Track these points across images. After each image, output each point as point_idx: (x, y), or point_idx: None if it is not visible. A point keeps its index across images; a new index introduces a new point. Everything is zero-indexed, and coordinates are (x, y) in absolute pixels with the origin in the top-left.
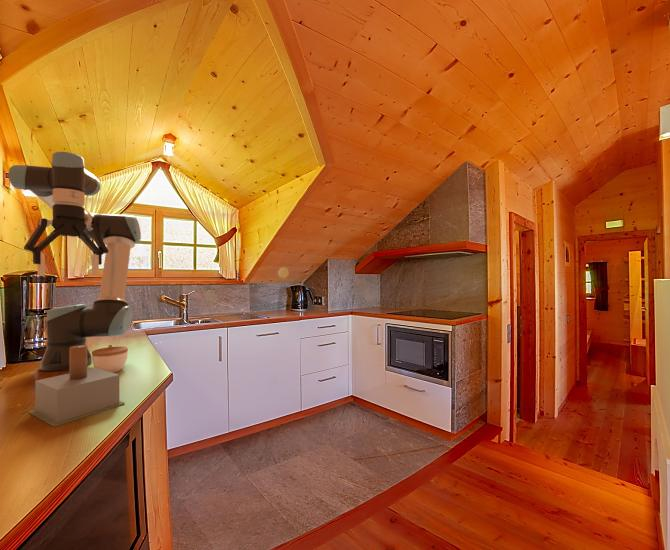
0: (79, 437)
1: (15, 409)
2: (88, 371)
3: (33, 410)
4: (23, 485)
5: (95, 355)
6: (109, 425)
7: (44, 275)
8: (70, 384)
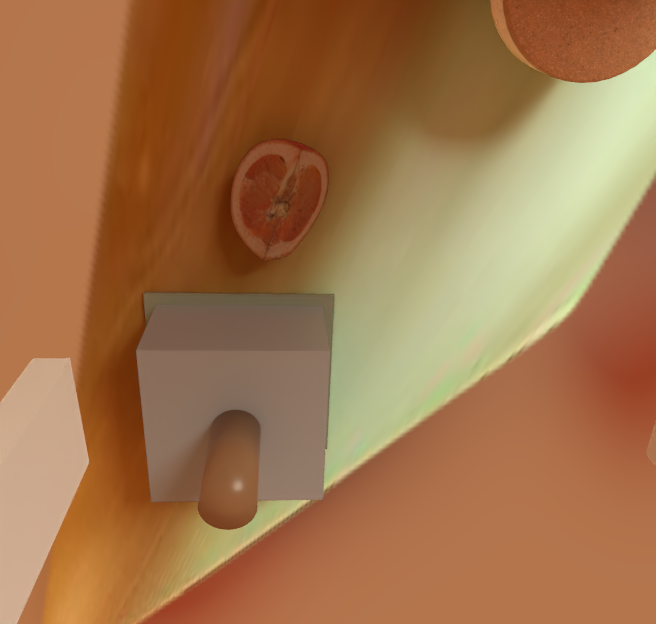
0: (175, 537)
1: (124, 216)
2: (289, 381)
3: (153, 297)
4: (64, 620)
5: (503, 3)
6: (238, 531)
7: (83, 465)
8: (192, 481)
